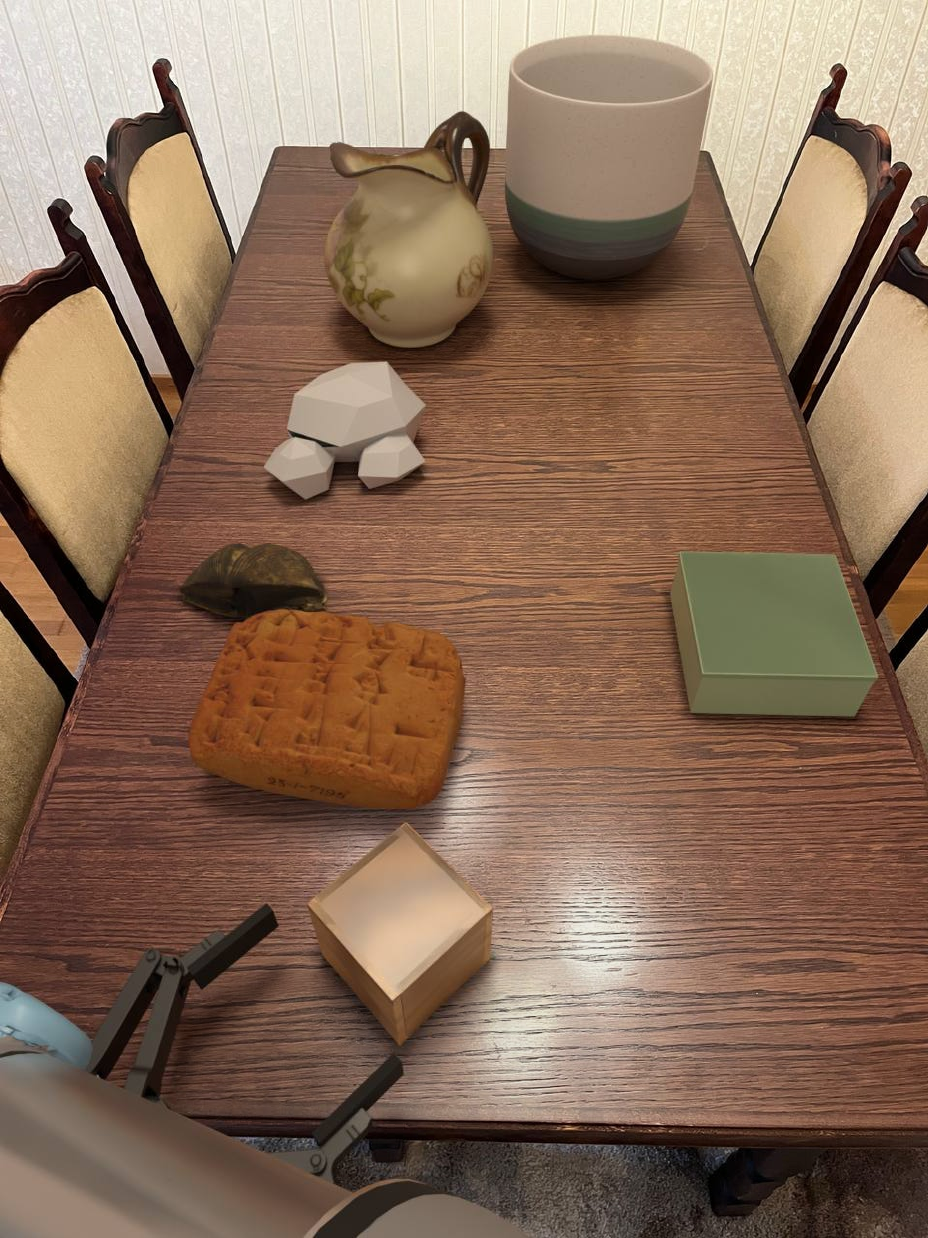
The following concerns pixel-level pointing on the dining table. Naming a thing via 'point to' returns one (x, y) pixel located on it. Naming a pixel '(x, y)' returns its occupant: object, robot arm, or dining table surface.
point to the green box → (769, 635)
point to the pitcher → (412, 236)
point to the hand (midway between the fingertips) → (333, 984)
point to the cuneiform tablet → (332, 709)
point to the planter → (602, 150)
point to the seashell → (254, 582)
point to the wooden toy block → (402, 930)
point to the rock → (350, 429)
